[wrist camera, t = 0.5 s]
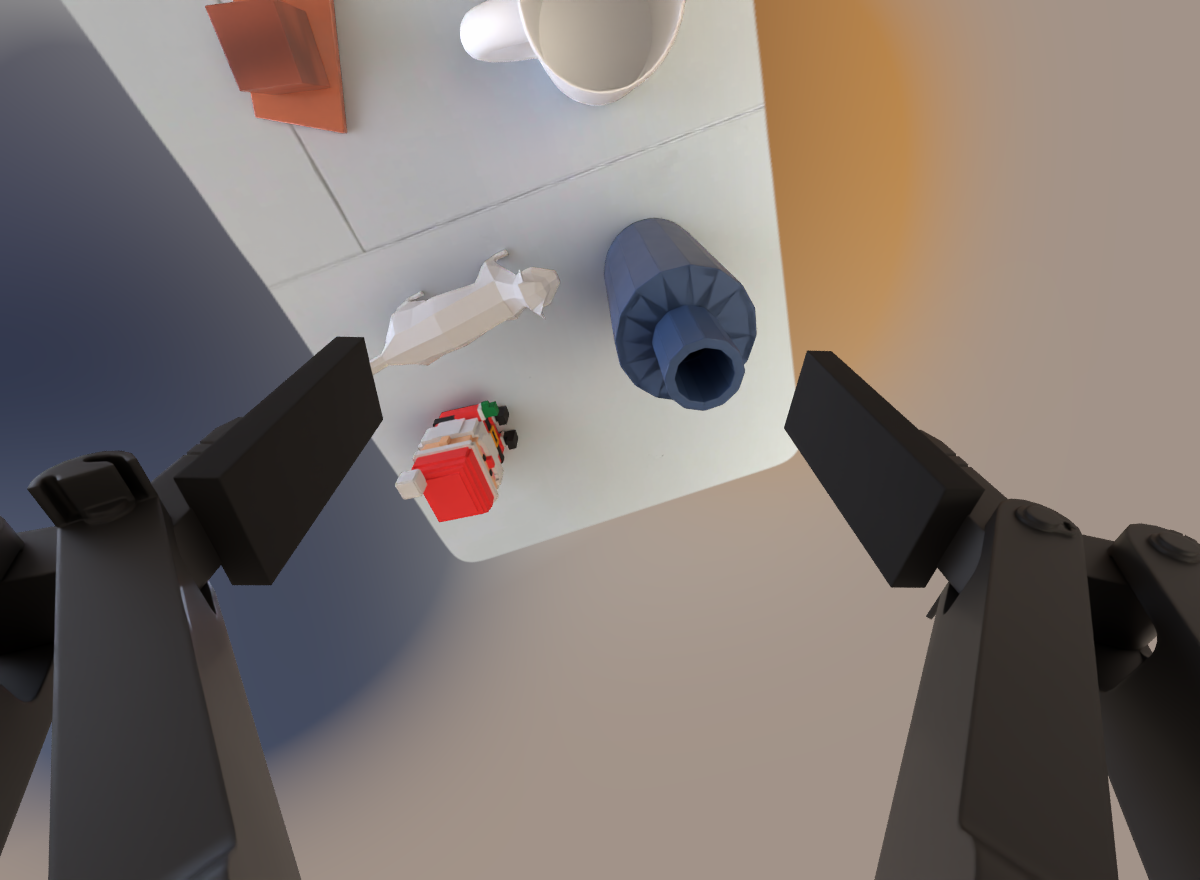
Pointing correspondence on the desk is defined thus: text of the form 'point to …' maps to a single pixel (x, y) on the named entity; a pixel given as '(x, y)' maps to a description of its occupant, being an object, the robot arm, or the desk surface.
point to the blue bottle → (677, 315)
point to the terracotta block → (268, 46)
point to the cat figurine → (463, 313)
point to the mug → (577, 40)
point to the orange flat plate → (311, 105)
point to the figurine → (460, 462)
